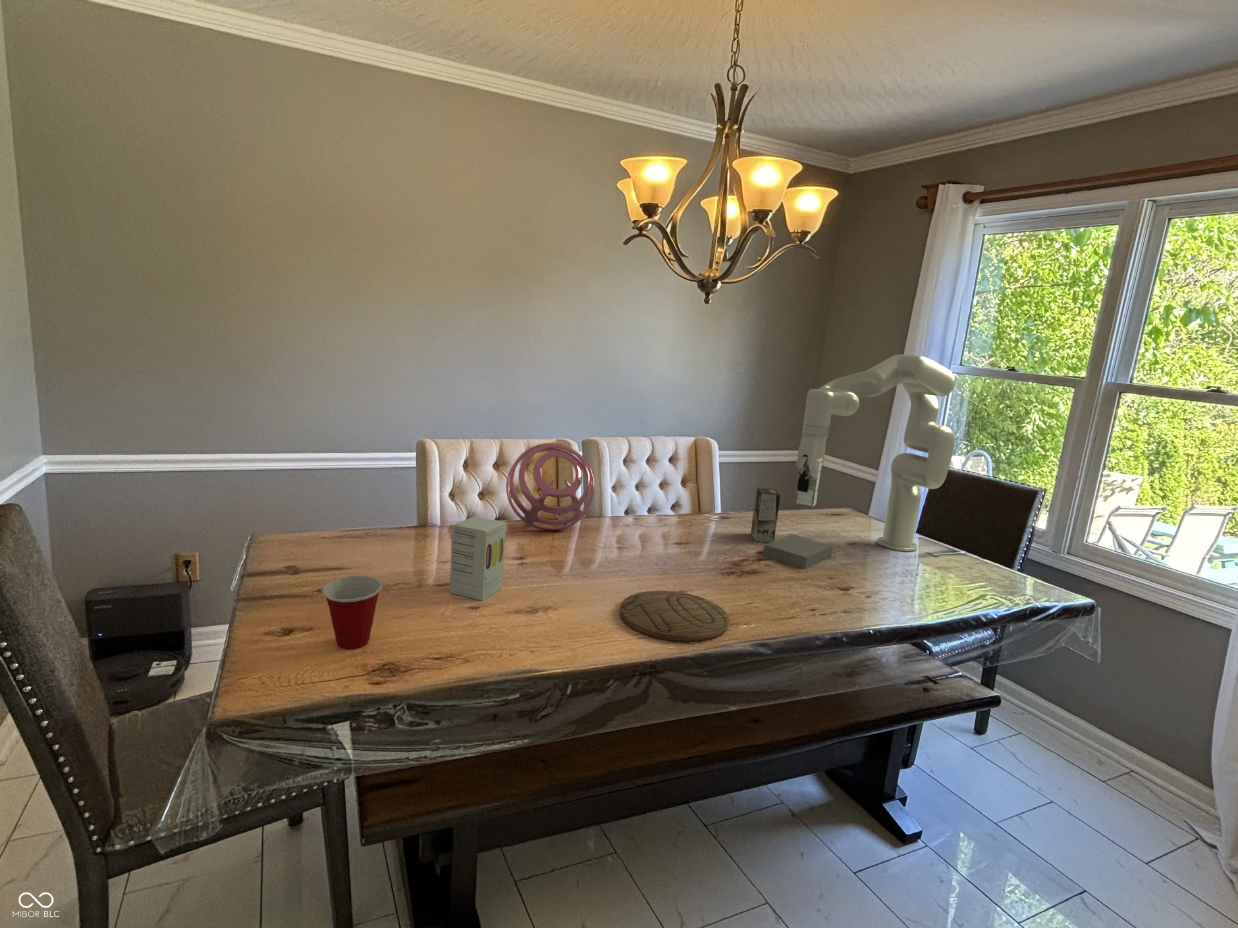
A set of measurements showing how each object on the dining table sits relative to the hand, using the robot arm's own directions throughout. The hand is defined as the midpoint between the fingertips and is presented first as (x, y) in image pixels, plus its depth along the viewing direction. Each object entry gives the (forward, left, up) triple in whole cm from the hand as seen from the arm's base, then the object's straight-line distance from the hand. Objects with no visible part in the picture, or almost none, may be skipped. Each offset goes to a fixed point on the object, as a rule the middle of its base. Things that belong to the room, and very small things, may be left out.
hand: (807, 489), depth 205 cm
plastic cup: (+127, -36, -22) cm, 134 cm away
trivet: (+68, 0, -22) cm, 71 cm away
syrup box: (0, 0, -5) cm, 5 cm away
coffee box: (-8, -16, -22) cm, 28 cm away
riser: (0, 0, -22) cm, 22 cm away
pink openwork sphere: (+42, -67, -22) cm, 81 cm away
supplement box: (+92, -41, -22) cm, 103 cm away
